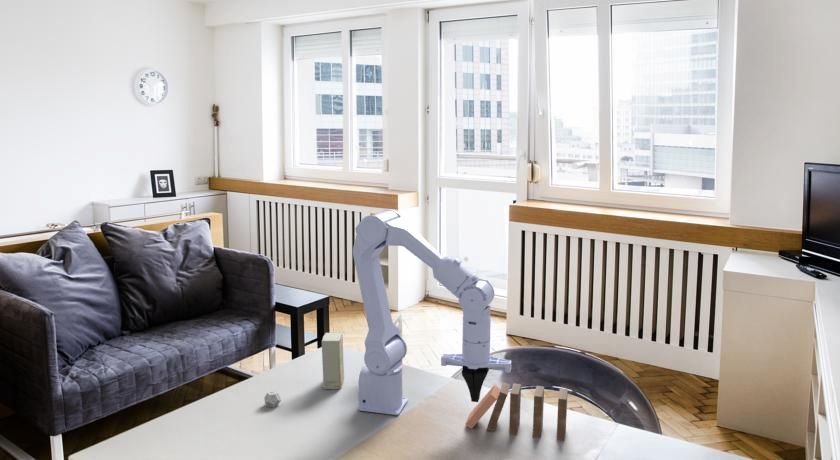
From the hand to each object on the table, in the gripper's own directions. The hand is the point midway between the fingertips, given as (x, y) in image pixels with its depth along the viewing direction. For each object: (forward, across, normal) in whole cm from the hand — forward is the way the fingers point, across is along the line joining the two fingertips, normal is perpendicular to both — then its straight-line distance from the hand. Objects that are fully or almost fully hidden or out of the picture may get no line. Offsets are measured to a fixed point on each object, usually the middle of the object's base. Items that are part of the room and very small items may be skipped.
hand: (475, 399), depth 140 cm
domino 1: (+5, +4, 0) cm, 6 cm away
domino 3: (+6, +13, 0) cm, 14 cm away
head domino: (+5, -1, 0) cm, 5 cm away
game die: (+6, -46, -3) cm, 46 cm away
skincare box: (+6, -37, +11) cm, 39 cm away
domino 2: (+6, +8, 0) cm, 10 cm away
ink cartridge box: (+6, -26, +21) cm, 34 cm away
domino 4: (+6, +18, 0) cm, 19 cm away
